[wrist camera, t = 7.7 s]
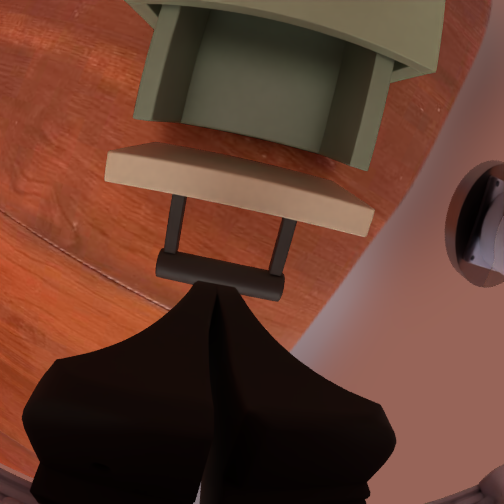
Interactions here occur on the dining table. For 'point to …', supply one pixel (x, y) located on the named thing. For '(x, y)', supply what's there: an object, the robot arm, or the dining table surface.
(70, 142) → the dining table surface
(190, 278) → the drawer
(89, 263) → the dining table surface
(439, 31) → the cabinet
